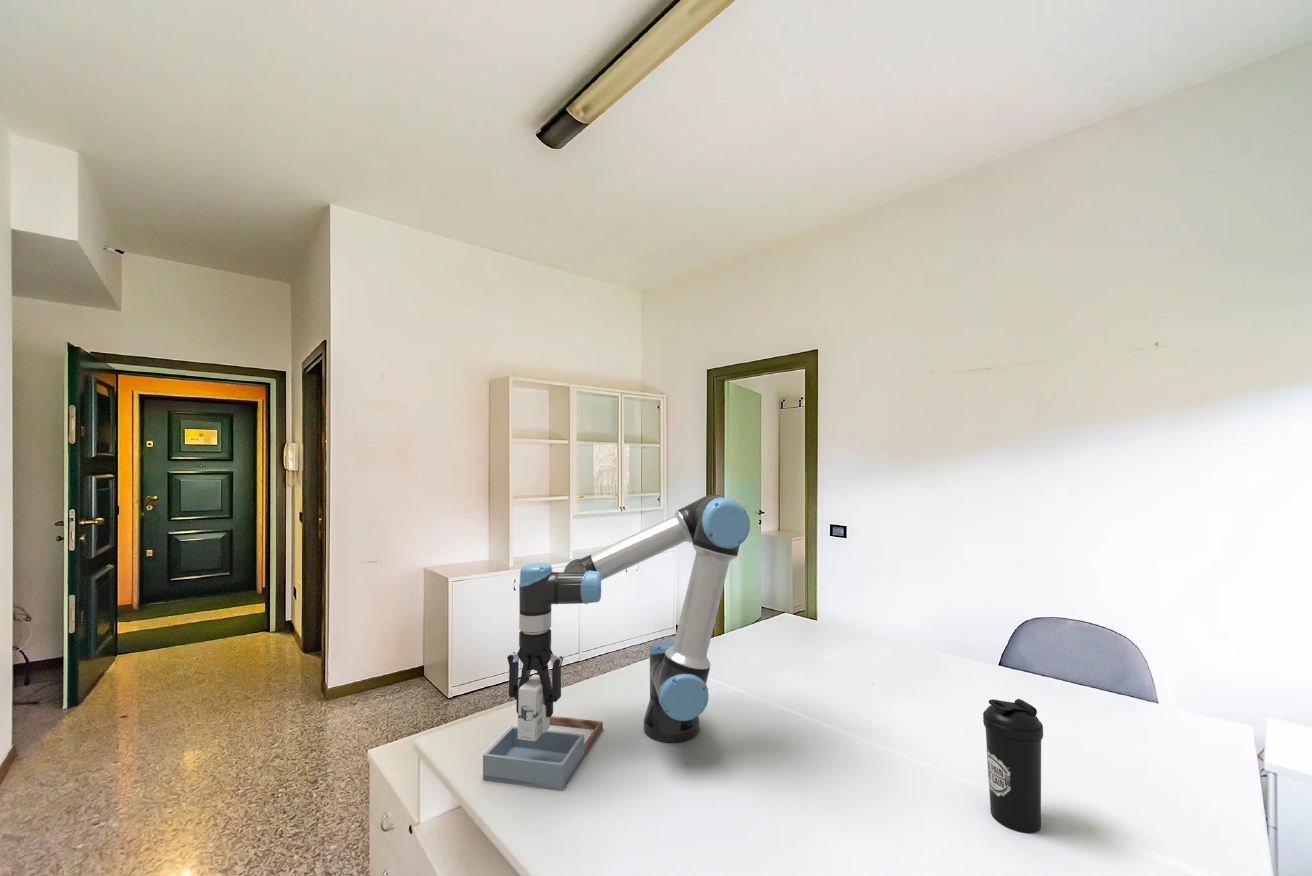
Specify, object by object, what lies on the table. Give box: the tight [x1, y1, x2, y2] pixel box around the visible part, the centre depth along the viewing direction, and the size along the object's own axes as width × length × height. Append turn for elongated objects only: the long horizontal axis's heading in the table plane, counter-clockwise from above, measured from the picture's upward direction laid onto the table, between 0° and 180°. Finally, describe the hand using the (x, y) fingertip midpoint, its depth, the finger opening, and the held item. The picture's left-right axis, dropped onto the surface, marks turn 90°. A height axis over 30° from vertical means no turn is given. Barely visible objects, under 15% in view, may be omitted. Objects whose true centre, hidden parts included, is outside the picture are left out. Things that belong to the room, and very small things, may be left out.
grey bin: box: [482, 725, 586, 792], centre depth 128 cm, size 20×14×6 cm
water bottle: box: [982, 698, 1044, 834], centre depth 109 cm, size 10×10×23 cm
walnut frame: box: [550, 715, 604, 757], centre depth 142 cm, size 20×14×2 cm
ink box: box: [517, 674, 552, 741], centre depth 128 cm, size 9×5×12 cm, turn 168°
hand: (534, 728), depth 128 cm, fingers closed on ink box, 5 cm apart
